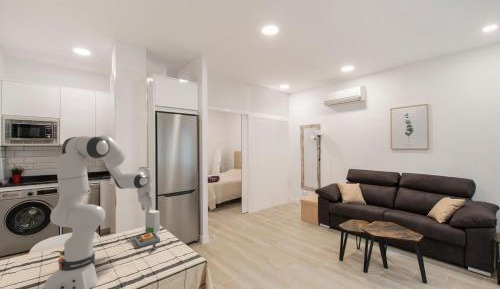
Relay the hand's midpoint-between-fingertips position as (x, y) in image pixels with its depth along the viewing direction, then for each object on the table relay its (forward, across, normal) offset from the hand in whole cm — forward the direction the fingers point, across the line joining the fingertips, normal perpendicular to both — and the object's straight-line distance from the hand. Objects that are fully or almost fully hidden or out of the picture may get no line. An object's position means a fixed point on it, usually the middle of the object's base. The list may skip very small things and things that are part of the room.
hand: (145, 211), depth 154 cm
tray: (+21, +3, -2) cm, 22 cm away
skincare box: (+21, +18, -10) cm, 30 cm away
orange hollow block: (+20, +3, -2) cm, 21 cm away
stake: (+22, -13, -2) cm, 25 cm away
